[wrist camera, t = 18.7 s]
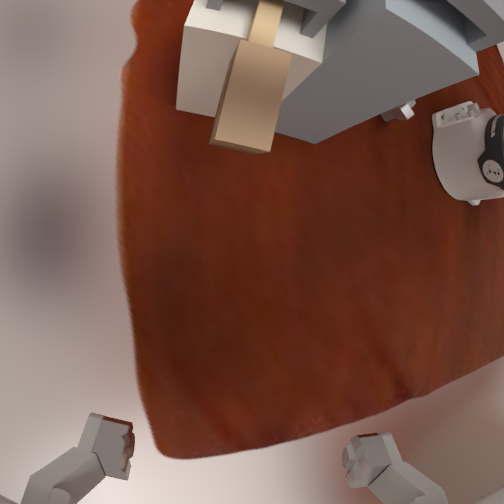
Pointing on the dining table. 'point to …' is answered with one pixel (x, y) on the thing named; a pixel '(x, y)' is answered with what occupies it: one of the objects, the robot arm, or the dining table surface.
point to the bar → (253, 86)
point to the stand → (341, 55)
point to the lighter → (399, 112)
